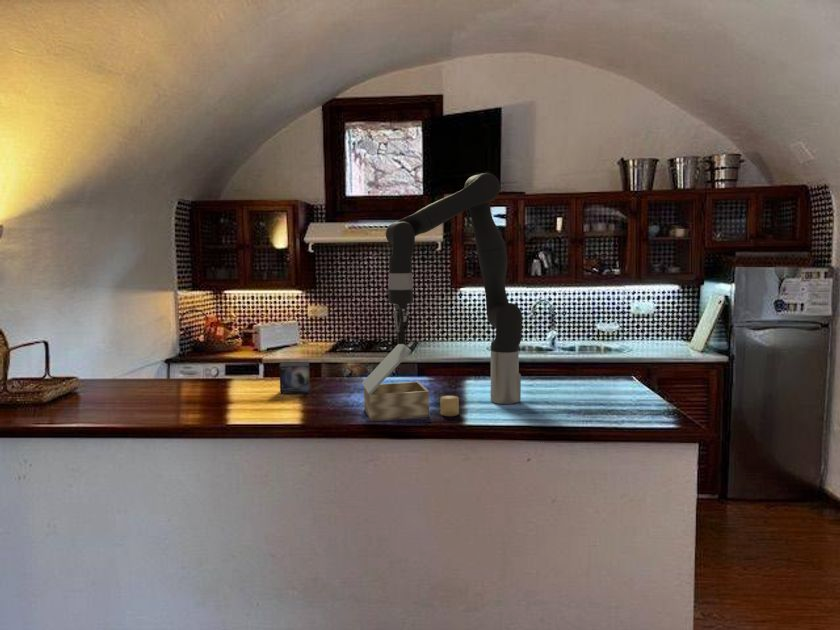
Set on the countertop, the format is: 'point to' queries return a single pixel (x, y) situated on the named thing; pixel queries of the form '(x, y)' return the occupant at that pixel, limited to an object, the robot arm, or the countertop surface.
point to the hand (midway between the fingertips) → (401, 343)
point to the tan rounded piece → (449, 405)
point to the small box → (294, 378)
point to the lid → (385, 368)
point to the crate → (397, 401)
